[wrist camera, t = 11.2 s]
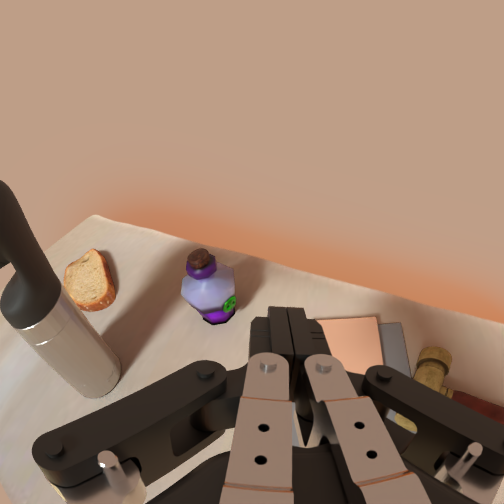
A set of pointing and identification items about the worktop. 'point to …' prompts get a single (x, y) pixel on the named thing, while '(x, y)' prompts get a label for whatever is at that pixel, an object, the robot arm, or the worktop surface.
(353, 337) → the tile
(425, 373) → the gavel
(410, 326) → the worktop surface
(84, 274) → the slice of bread
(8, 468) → the worktop surface
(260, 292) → the worktop surface
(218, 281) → the potion bottle
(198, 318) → the worktop surface
